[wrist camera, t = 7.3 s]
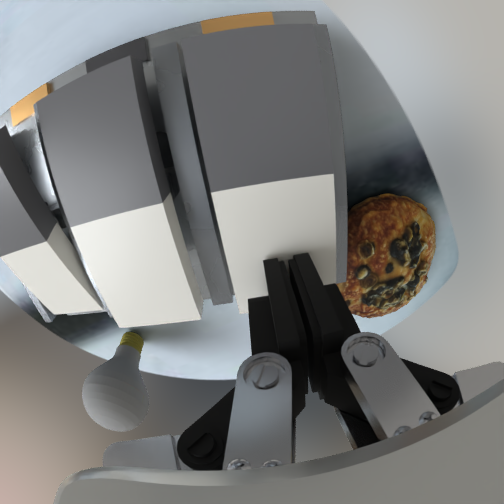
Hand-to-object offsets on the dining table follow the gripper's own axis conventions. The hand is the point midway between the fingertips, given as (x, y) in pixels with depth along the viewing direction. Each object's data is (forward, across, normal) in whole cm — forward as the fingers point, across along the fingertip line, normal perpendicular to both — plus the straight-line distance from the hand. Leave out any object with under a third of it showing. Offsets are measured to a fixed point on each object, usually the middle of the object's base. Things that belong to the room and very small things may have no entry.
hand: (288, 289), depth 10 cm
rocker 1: (+1, +11, -4) cm, 12 cm away
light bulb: (+9, +14, +10) cm, 19 cm away
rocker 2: (+1, +6, -4) cm, 7 cm away
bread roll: (+10, -9, +6) cm, 14 cm away
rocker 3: (+1, 0, -4) cm, 4 cm away
